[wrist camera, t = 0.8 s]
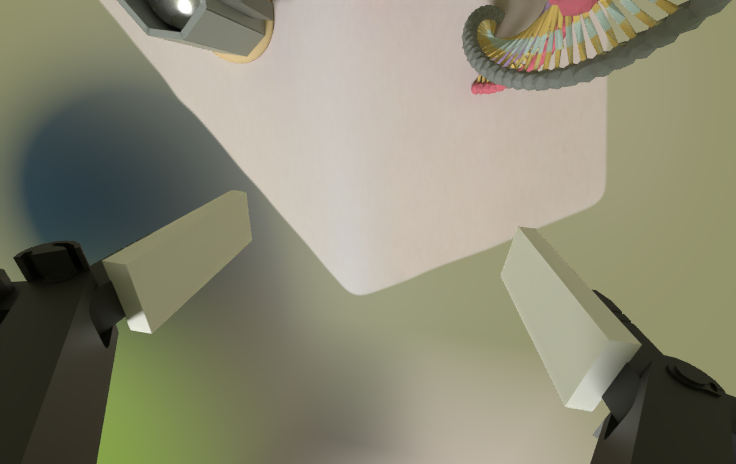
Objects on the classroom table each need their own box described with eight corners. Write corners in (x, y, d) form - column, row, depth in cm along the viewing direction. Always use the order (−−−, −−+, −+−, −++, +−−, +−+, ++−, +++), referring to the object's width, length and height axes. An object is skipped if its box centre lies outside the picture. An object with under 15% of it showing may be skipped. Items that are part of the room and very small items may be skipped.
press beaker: (186, -46, 35) (80, -116, 23) (286, -35, 34) (224, -102, 23) (199, 58, 40) (116, 41, 28) (286, 69, 39) (236, 57, 27)
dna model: (440, 88, 37) (522, 60, 10) (460, 5, 33) (677, -384, 6) (507, 100, 37) (773, 103, 10) (536, 17, 33) (1101, -343, 6)
